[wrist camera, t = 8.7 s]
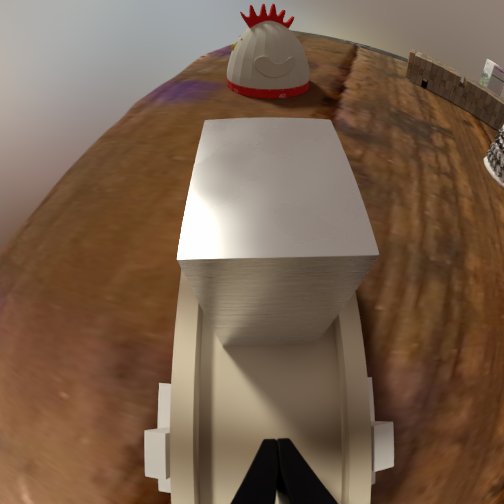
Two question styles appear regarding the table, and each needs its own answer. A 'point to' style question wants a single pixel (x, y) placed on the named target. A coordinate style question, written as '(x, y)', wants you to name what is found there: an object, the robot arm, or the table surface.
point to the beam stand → (160, 441)
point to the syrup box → (493, 77)
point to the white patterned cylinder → (496, 158)
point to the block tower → (456, 88)
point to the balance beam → (267, 407)
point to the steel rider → (273, 230)
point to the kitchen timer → (268, 58)
